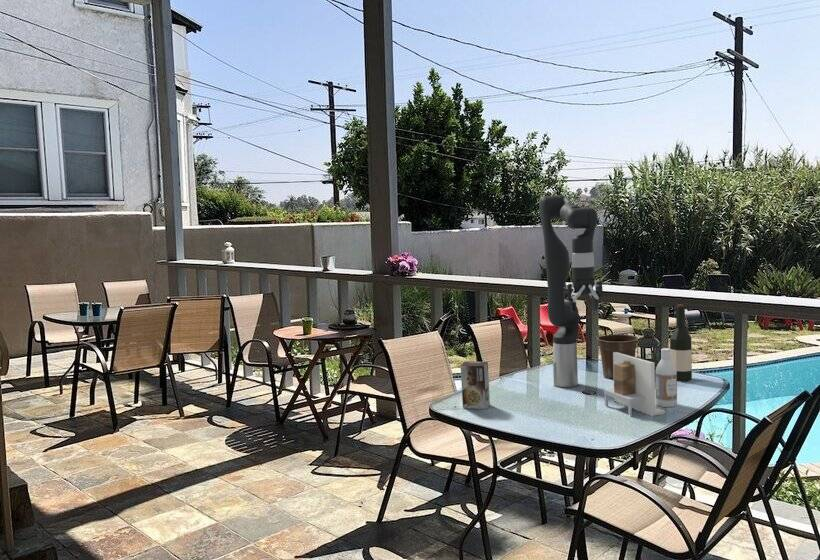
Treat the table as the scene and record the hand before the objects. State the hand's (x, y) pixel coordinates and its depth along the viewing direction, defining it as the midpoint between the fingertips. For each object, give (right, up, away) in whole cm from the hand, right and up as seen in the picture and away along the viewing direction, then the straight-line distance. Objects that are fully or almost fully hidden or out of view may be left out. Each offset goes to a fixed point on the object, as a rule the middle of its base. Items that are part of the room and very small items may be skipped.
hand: (584, 311), depth 240 cm
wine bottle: (+47, -29, +32) cm, 63 cm away
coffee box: (-37, -36, +10) cm, 52 cm away
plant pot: (+25, -29, +41) cm, 56 cm away
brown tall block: (+13, -28, -4) cm, 31 cm away
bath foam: (+29, -33, 0) cm, 44 cm away
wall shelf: (+16, -34, -2) cm, 37 cm away
